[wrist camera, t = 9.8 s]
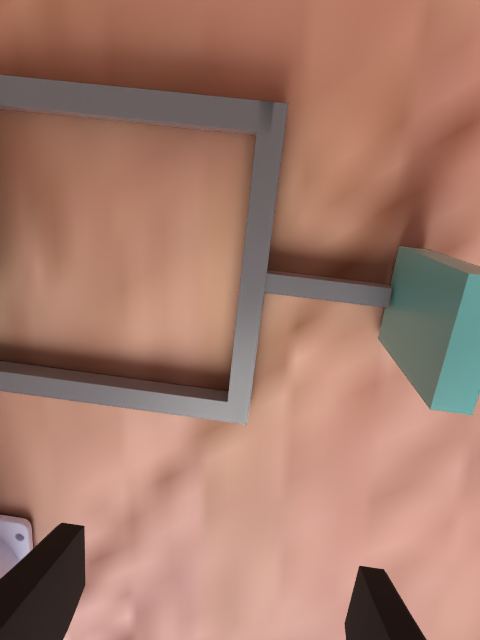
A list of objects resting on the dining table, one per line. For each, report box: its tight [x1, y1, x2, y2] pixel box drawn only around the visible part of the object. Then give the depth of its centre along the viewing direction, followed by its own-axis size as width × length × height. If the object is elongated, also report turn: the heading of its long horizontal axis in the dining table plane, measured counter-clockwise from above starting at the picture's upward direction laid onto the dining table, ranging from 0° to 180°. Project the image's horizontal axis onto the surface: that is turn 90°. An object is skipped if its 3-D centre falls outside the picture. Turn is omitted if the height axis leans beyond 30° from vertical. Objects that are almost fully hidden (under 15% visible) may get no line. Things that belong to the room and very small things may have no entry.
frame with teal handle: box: [0, 75, 480, 425], centre depth 14 cm, size 13×25×6 cm, turn 84°
